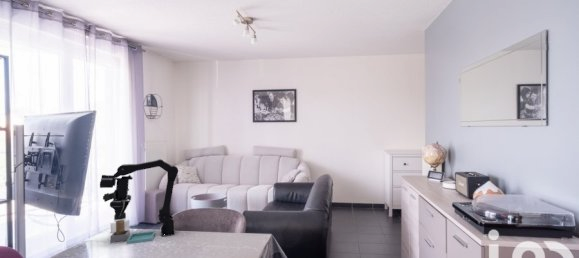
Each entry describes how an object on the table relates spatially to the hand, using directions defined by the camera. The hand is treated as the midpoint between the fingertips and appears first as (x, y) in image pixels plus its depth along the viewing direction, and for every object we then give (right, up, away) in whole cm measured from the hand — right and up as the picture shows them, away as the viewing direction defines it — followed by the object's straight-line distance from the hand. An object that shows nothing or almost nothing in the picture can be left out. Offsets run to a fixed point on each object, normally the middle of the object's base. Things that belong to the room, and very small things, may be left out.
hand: (119, 216), depth 157 cm
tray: (+12, -13, 0) cm, 18 cm away
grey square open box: (+1, -14, 0) cm, 14 cm away
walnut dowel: (0, -13, 0) cm, 13 cm away
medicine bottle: (-8, -14, +14) cm, 21 cm away
